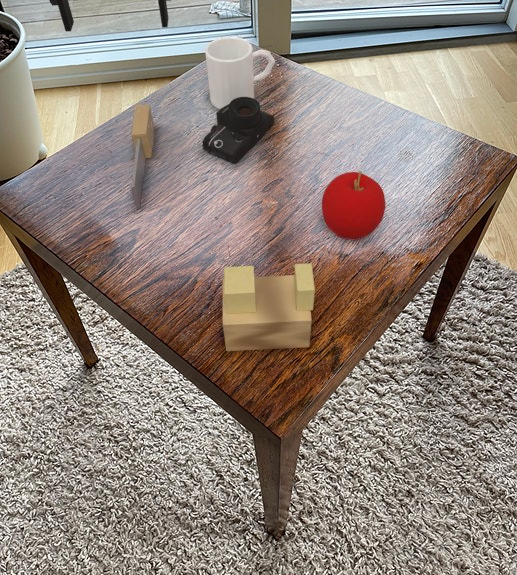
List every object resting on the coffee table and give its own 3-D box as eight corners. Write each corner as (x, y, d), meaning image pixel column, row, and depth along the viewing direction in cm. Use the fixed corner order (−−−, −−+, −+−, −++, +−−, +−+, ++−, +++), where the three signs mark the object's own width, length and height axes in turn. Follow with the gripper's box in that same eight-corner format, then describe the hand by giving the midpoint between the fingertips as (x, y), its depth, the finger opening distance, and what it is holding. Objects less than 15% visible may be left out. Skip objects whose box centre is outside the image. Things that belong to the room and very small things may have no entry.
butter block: (226, 314, 68) (224, 293, 65) (226, 287, 71) (224, 266, 68) (256, 312, 68) (255, 292, 65) (254, 286, 71) (253, 265, 68)
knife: (141, 129, 101) (135, 104, 97) (154, 128, 101) (149, 104, 97) (130, 209, 88) (123, 185, 84) (146, 208, 88) (139, 184, 84)
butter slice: (296, 311, 68) (297, 290, 65) (293, 284, 71) (294, 263, 68) (313, 310, 68) (314, 289, 65) (310, 284, 71) (311, 263, 68)
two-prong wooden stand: (226, 351, 72) (222, 324, 67) (225, 306, 76) (222, 278, 72) (309, 347, 72) (311, 320, 67) (304, 302, 76) (306, 274, 72)
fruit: (393, 234, 83) (405, 182, 76) (342, 258, 81) (349, 207, 73) (356, 197, 89) (364, 144, 81) (307, 218, 86) (310, 166, 78)
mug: (278, 107, 103) (278, 56, 96) (211, 113, 103) (206, 62, 95) (272, 82, 108) (272, 32, 101) (209, 88, 108) (203, 38, 100)
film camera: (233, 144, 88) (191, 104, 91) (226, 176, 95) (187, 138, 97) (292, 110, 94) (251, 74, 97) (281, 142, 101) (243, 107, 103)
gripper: (188, -173, 67) (205, 8, 84) (-25, -165, 67) (35, 15, 84) (186, -154, 63) (204, 34, 79) (-43, -145, 62) (24, 41, 79)
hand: (117, 25), depth 81 cm, fingers open, 13 cm apart
